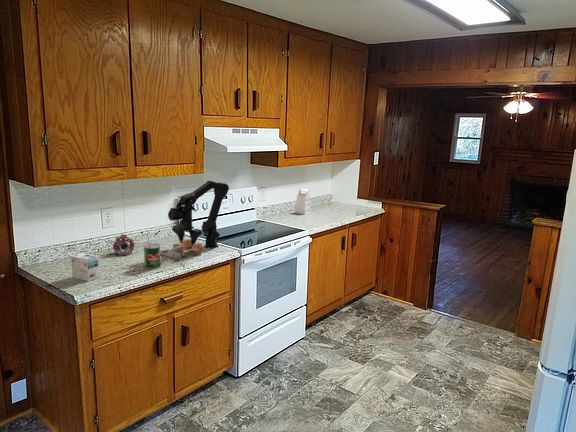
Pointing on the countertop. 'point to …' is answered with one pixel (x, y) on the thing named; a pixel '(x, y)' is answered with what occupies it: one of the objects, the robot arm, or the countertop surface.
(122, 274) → the countertop surface
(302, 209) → the grater
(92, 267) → the light bulb box
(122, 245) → the maroon piece
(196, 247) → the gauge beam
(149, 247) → the canned tomato
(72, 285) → the countertop surface
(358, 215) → the countertop surface
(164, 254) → the flange plate
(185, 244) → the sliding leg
